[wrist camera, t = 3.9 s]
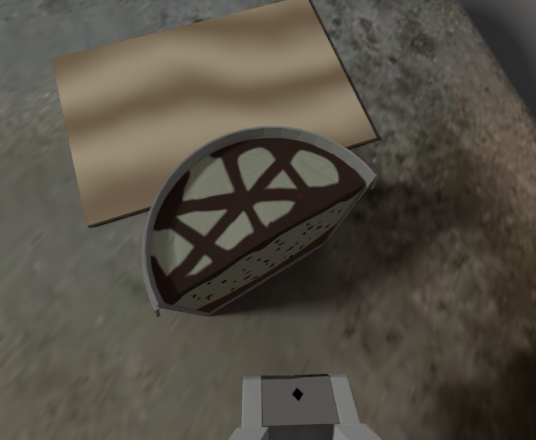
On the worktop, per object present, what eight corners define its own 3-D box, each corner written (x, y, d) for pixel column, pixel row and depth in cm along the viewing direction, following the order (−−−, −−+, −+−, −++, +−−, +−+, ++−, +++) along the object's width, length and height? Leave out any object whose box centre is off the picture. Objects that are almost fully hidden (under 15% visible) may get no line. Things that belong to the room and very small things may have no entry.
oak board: (375, 140, 30) (376, 137, 30) (89, 227, 27) (86, 225, 27) (305, -1, 35) (306, -5, 34) (54, 62, 32) (51, 58, 32)
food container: (295, 166, 29) (312, 76, 20) (342, 233, 28) (385, 170, 18) (145, 250, 27) (83, 192, 17) (187, 329, 25) (144, 312, 16)
